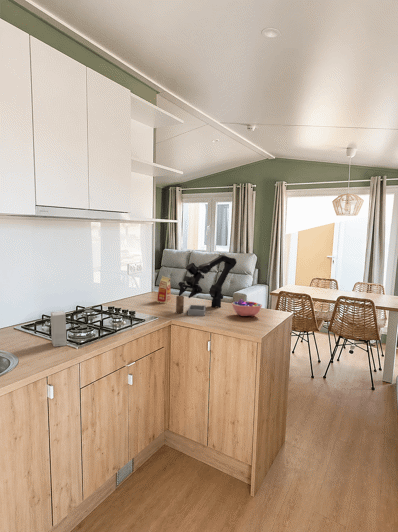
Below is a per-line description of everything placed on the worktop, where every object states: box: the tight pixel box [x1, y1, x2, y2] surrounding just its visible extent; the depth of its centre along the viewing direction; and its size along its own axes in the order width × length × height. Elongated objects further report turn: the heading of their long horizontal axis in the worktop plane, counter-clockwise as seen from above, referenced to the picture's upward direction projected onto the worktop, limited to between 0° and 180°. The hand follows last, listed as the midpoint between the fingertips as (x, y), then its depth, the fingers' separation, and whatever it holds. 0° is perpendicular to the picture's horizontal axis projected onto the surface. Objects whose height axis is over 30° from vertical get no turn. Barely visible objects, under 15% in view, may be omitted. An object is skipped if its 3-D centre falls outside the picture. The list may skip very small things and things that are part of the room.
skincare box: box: [50, 310, 68, 348], centre depth 159 cm, size 8×6×15 cm
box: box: [187, 304, 207, 317], centre depth 229 cm, size 11×15×4 cm
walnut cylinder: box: [175, 295, 185, 314], centre depth 228 cm, size 5×5×11 cm
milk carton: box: [156, 275, 172, 304], centre depth 260 cm, size 9×9×20 cm
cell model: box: [231, 298, 263, 317], centre depth 225 cm, size 17×20×11 cm
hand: (183, 296), depth 230 cm, fingers open, 9 cm apart
